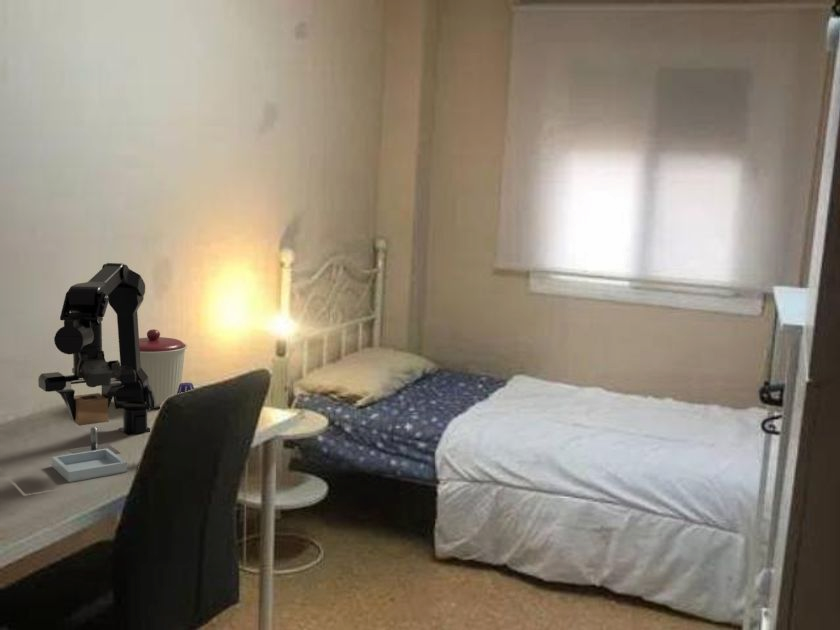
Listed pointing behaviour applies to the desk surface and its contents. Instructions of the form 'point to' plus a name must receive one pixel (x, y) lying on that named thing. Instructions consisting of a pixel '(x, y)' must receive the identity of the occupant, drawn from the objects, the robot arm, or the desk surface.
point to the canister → (162, 364)
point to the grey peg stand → (94, 444)
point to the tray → (89, 464)
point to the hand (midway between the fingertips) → (89, 417)
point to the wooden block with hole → (90, 409)
